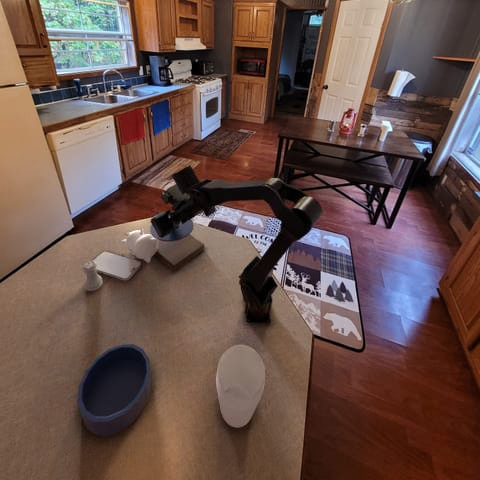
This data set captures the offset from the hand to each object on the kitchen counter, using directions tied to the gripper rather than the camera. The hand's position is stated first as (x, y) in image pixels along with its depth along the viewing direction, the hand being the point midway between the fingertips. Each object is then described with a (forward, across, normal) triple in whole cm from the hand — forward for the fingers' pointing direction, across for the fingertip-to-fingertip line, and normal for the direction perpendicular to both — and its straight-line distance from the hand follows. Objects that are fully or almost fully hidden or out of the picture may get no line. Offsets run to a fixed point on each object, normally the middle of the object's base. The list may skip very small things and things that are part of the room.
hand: (169, 221), depth 83 cm
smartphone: (+15, +16, +3) cm, 22 cm away
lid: (0, 0, +2) cm, 2 cm away
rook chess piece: (+13, +23, +4) cm, 27 cm away
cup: (-21, +20, +39) cm, 49 cm away
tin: (-7, +33, +25) cm, 41 cm away
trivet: (+8, -2, +10) cm, 13 cm away
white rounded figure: (+15, +7, -3) cm, 17 cm away
